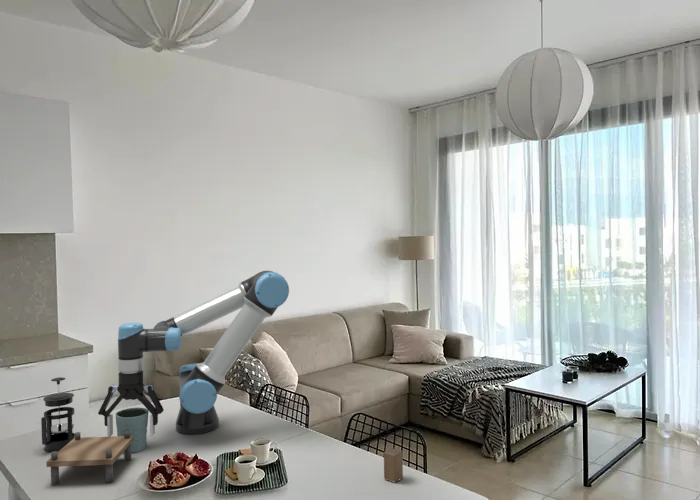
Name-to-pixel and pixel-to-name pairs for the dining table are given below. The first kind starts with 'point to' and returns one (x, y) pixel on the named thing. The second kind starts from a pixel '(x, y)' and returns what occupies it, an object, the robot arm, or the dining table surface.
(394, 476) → the wooden block
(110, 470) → the wooden board with feet
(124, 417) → the teal plant pot
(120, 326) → the robot arm
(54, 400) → the french press
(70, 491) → the dining table surface
